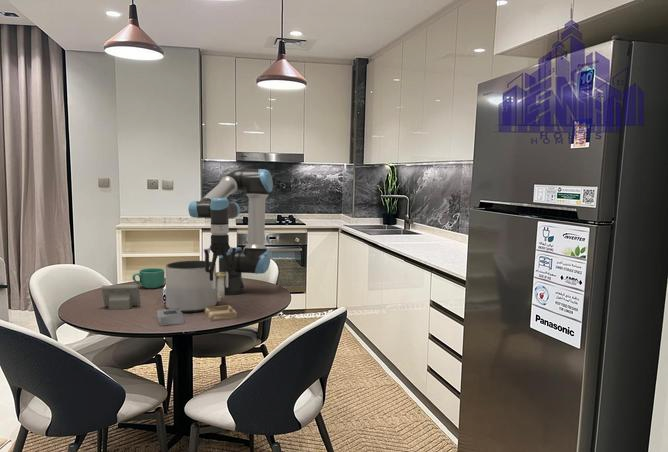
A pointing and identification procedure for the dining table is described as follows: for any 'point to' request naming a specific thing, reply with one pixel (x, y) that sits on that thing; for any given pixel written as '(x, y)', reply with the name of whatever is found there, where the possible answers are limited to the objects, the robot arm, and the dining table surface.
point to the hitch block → (170, 316)
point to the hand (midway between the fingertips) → (220, 287)
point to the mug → (150, 277)
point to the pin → (220, 286)
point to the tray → (220, 312)
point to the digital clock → (121, 296)
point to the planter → (189, 286)
